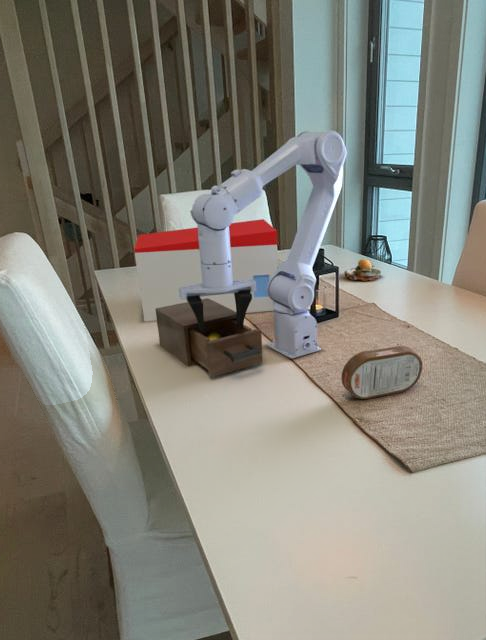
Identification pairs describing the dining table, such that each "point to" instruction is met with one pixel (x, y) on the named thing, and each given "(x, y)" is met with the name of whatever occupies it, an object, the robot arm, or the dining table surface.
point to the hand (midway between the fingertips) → (221, 330)
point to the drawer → (225, 347)
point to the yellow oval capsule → (213, 336)
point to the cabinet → (186, 325)
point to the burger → (363, 271)
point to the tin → (381, 372)
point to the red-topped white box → (185, 266)
